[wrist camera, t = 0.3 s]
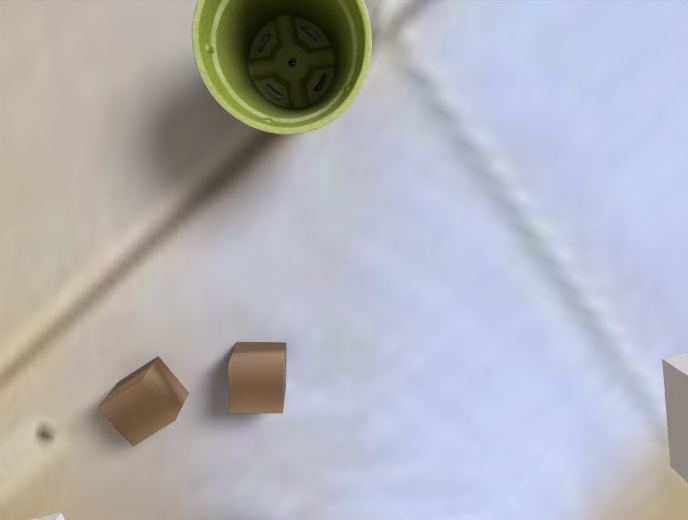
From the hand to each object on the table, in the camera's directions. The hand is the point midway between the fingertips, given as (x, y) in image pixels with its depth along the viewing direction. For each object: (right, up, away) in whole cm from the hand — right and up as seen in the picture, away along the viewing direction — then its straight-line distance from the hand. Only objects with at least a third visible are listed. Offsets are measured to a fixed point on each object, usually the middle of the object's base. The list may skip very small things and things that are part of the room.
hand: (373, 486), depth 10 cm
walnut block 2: (-7, -4, +29) cm, 30 cm away
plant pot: (-4, +19, +23) cm, 30 cm away
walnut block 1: (-16, -6, +29) cm, 34 cm away
